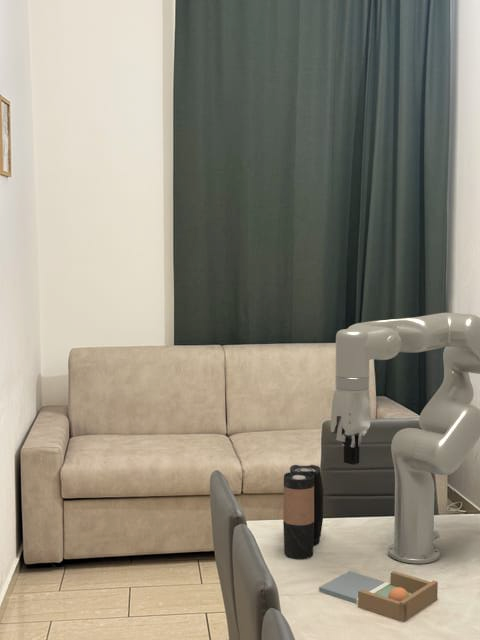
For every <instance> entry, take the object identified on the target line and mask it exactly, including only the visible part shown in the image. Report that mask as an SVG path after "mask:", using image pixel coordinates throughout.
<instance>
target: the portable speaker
mask: <svg viewBox="0 0 480 640" xmlns="http://www.w3.org/2000/svg"><path fill="white" fill-rule="evenodd" d="M289 471H290V473H291V474H297V473H299V472H308V473H311V474H313V475H314V540H313V547H315V546H316V545H319V544H320V540H321V539H320V538H321V536H322V530H323V523H324V522H323V521H324V488H323V487H324V486H323V479H322V473H321V467H320V466H319V465H315V464H310V465H298V464H293V465H291V466H290V467H289Z"/></svg>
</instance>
